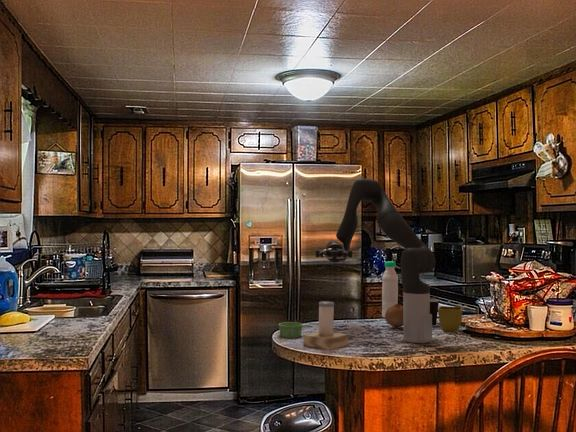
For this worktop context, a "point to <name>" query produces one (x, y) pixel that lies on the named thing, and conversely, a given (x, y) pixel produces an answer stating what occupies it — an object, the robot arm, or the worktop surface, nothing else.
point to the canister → (326, 318)
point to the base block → (325, 340)
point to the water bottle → (389, 287)
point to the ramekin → (290, 329)
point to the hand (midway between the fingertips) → (333, 254)
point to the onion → (395, 315)
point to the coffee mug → (434, 310)
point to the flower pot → (450, 318)
